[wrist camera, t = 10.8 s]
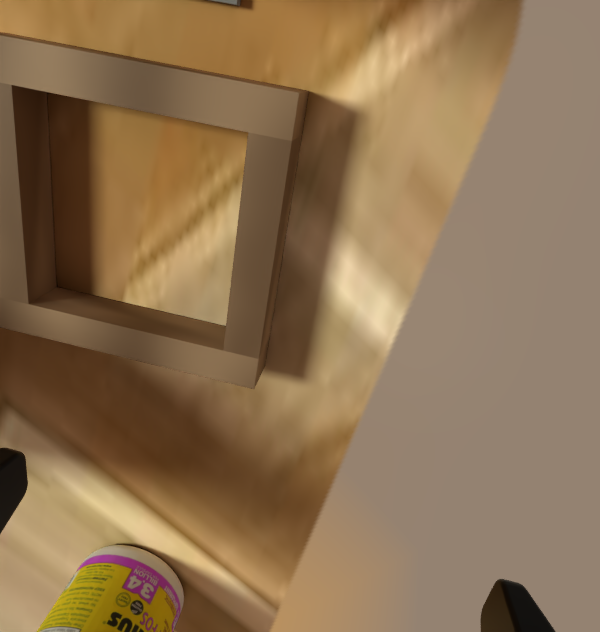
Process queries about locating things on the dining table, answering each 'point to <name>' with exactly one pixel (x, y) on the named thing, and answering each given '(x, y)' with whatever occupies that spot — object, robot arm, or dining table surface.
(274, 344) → the dining table surface
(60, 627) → the supplement bottle
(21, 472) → the robot arm
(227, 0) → the grey flat square slab
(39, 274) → the walnut collar stand
